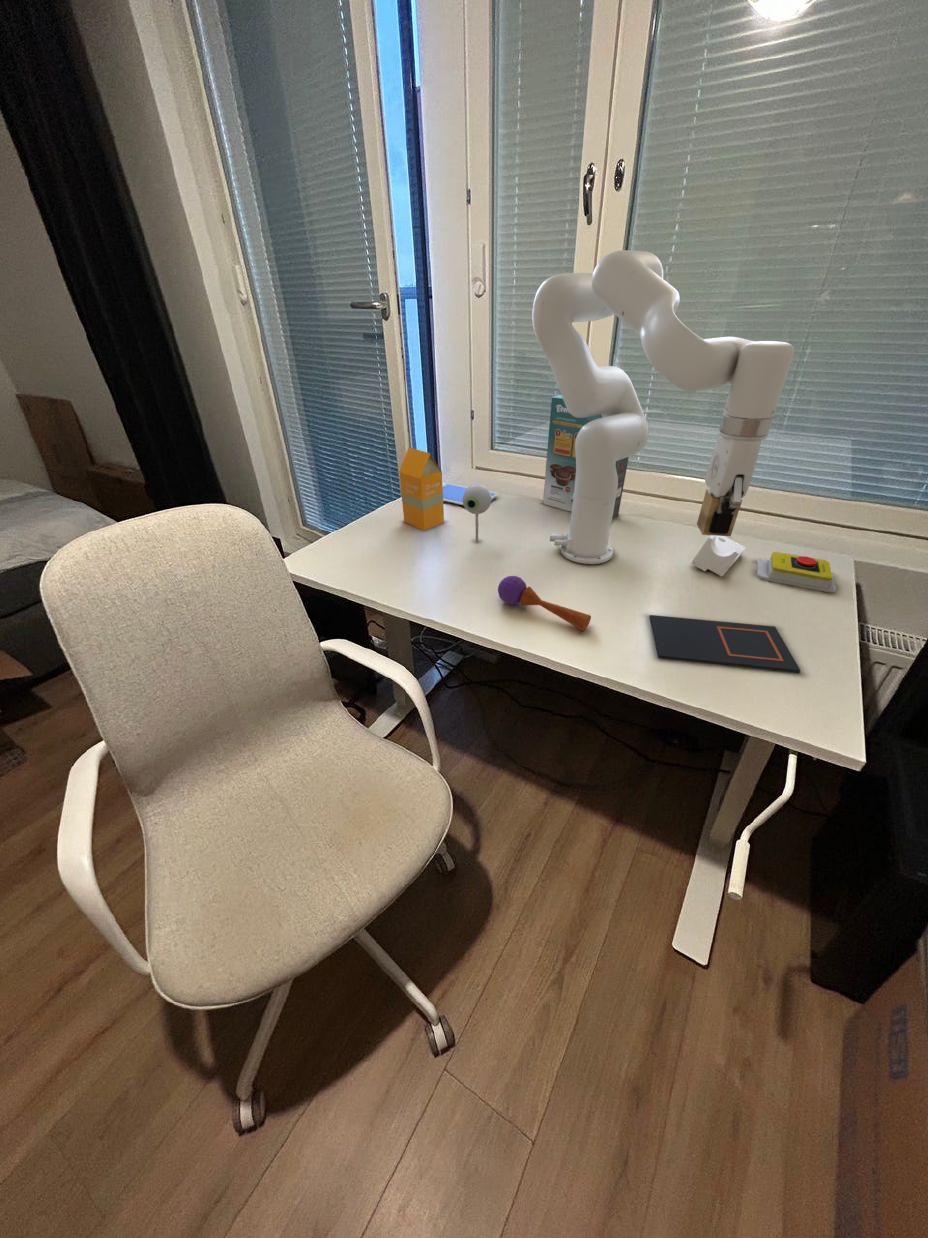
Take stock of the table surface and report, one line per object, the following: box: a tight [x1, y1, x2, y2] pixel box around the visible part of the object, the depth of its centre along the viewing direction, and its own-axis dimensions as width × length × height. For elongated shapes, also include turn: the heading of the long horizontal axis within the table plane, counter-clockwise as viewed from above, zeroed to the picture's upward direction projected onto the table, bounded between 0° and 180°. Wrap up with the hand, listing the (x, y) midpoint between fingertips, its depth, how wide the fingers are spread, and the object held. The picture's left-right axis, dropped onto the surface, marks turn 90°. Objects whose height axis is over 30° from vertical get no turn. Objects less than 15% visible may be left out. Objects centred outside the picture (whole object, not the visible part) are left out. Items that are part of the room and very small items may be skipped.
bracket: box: [691, 535, 747, 577], centre depth 112 cm, size 13×7×8 cm, turn 138°
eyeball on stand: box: [462, 484, 492, 543], centre depth 121 cm, size 7×7×15 cm
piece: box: [696, 488, 743, 537], centre depth 89 cm, size 5×5×8 cm
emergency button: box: [756, 551, 837, 594], centre depth 107 cm, size 9×4×15 cm
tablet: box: [443, 483, 498, 506], centre depth 151 cm, size 19×13×1 cm, turn 57°
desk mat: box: [649, 614, 801, 674], centre depth 89 cm, size 23×13×1 cm, turn 79°
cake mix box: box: [542, 394, 630, 520], centre depth 134 cm, size 22×6×30 cm, turn 49°
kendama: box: [497, 575, 592, 632], centre depth 96 cm, size 6×6×20 cm
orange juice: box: [398, 446, 445, 531], centre depth 130 cm, size 8×9×20 cm
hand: (714, 525), depth 91 cm, fingers closed on piece, 5 cm apart
